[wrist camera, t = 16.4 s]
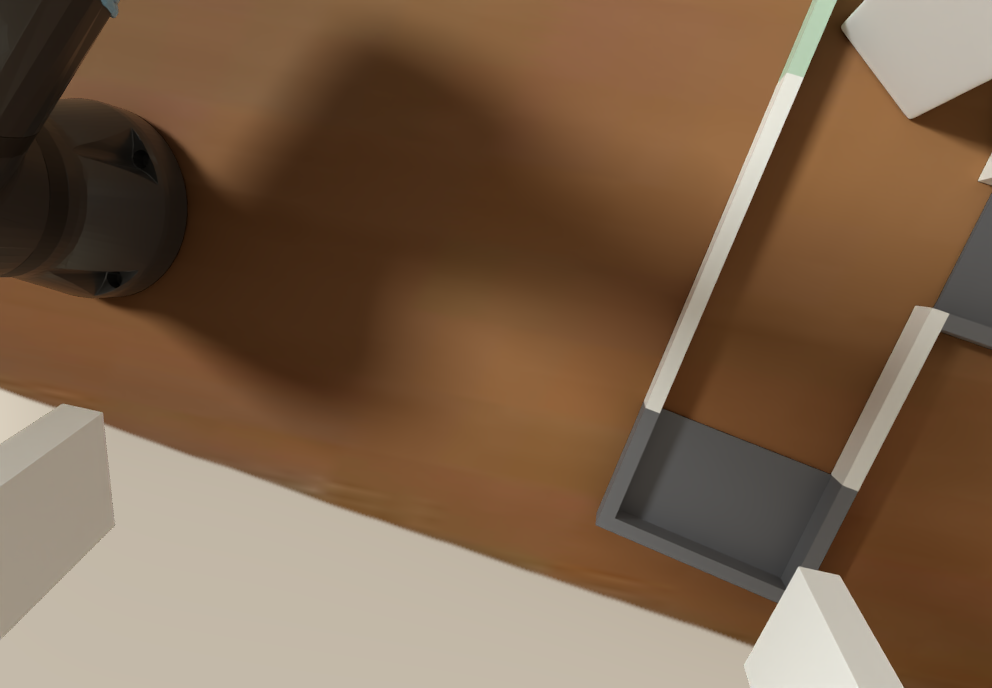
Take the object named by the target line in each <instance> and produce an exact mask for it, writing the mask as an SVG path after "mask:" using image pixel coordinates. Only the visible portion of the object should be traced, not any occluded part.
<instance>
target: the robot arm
mask: <svg viewBox="0 0 992 688" xmlns="http://www.w3.org/2000/svg"><path fill="white" fill-rule="evenodd" d="M119 1H120V0H0V277H13V278H16V279H20V280H23V281H26V282H30V283H33V284H36V285H40V286H43V287H46V288H50V289H53V290H56V291H60V292H63V293H66V294H70V295H73V296H78V297H86V298H107V297H122V296H127V295H131V294H134V293H137V292H140V291H142V290H144V289H146V288H147V287H149V286H150V285H152V284H153V283H155V282H156V281H157V280H158V279H159V278H160V277H161V276H162V275H163V274H164V273H165V272H166V271H167V269H168V268H169V267H170V265H171V264H172V262H173V261H174V259H175V257H176V255H177V253H178V251H179V248H180V246H181V243H182V240H183V236H184V232H185V227H186V219H187V198H186V190H185V185H184V181H183V177H182V174H181V171H180V168H179V165H178V163H177V161H176V158H175V156H174V154H173V153H172V151H171V149H170V148H169V146H168V144H167V143H166V142H165V140H164V139H163V138H162V136H161V135H160V134H159V133H158V132H157V131H156V130H155V129H154V128H153V127H152V126H151V125H150V124H149V123H147V122H146V121H145V120H143V119H142V118H140V117H139V116H137V115H135V114H133V113H132V112H129V111H127V110H124V109H121V108H118V107H115V106H112V105H109V104H106V103H103V102H99V101H95V100H89V99H82V98H70V99H60V97H61V95H62V94H63V92H64V91H65V89H66V87H67V86H68V84H69V82H70V81H71V79H72V78H73V76H74V74H75V73H76V71H77V69H78V68H79V66H80V64H81V63H82V61H83V60H84V58H85V56H86V55H87V53H88V51H89V50H90V48H91V47H92V45H93V43H94V42H95V40H96V38H97V37H98V35H99V33H100V32H101V30H102V29H103V27H104V25H105V24H106V22H107V20H108V19H109V17H112V18H116V16H117V15H118V6H117V5H118V3H119ZM114 526H115V522H114V513H113V503H112V494H111V485H110V475H109V466H108V456H107V448H106V438H105V429H104V419H103V412H98V411H94V410H89V409H85V408H80V407H76V406H71V405H67V404H61V405H60V406H58V407H57V408H55V409H54V410H52V411H51V412H49V413H47V414H46V415H44V416H43V417H41V418H40V419H38V420H37V421H35V422H33V423H32V424H30V425H29V426H28V427H26V428H24V429H23V430H21V431H20V432H18V433H17V434H15V435H13V436H12V437H10V438H9V439H7V440H6V441H4V442H3V443H1V444H0V640H1V639H2V638H3V637H4V636H5V635H6V634H7V632H9V631H10V630H11V629H12V628H13V627H14V626H15V625H16V624H17V623H18V622H19V621H20V620H21V619H22V618H23V617H24V616H25V615H26V614H27V613H28V612H29V611H30V610H31V609H32V608H33V607H34V606H35V605H36V604H37V603H38V602H39V601H40V600H41V599H42V598H43V597H44V596H45V595H46V594H47V593H48V592H49V591H50V590H51V589H52V588H53V587H54V586H55V585H56V584H57V583H58V582H59V581H60V580H61V579H62V578H63V577H64V576H65V575H66V574H67V573H68V572H69V571H70V570H71V569H72V568H73V567H74V566H75V565H76V564H77V563H78V562H79V561H80V560H81V559H82V558H83V557H84V556H85V555H86V554H87V553H88V552H89V551H90V550H91V549H92V548H93V547H94V546H95V545H96V544H97V543H98V542H99V541H100V540H101V539H102V538H103V537H104V536H105V535H106V534H107V533H108V532H109V531H110V530H111V529H112V528H113V527H114ZM744 669H745V672H746V675H747V679H748V682H749V685H750V688H904V687H903V685H902V684H901V682H900V680H899V678H898V677H897V675H896V673H895V671H894V670H893V668H892V666H891V664H890V663H889V661H888V659H887V657H886V656H885V654H884V652H883V650H882V649H881V647H880V645H879V643H878V642H877V640H876V638H875V636H874V635H873V633H872V631H871V629H870V628H869V626H868V624H867V622H866V621H865V619H864V617H863V615H862V614H861V612H860V610H859V608H858V607H857V605H856V603H855V601H854V600H853V598H852V596H851V594H850V593H849V591H848V589H847V587H846V586H845V584H844V582H843V580H842V579H841V577H840V575H836V574H831V573H827V572H822V571H818V570H813V569H809V568H804V567H800V566H798V568H797V570H796V572H795V574H794V575H793V577H792V579H791V581H790V583H789V584H788V586H787V588H786V590H785V592H784V593H783V595H782V597H781V599H780V601H779V602H778V604H777V606H776V608H775V610H774V611H773V613H772V615H771V617H770V619H769V620H768V622H767V624H766V626H765V628H764V629H763V631H762V633H761V635H760V637H759V638H758V640H757V642H756V644H755V646H754V647H753V649H752V651H751V653H750V655H749V656H748V658H747V660H746V662H745V664H744Z"/></svg>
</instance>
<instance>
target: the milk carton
mask: <svg viewBox="0 0 992 688" xmlns="http://www.w3.org/2000/svg"><path fill="white" fill-rule="evenodd" d="M841 29H842V31H843V32H844V34H845V35H846V36H847V38H848V39H849V40H850V42H851V43H852V44H853V46H854V47H855V48H856V50H857V51H858V53H859V54H860V55H861V57H862V58H863V59H864V61H865V62H866V63H867V65H868V66H869V67H870V69H871V70H872V71H873V73H874V74H875V75H876V77H877V78H878V79H879V81H880V82H881V83H882V85H883V86H884V87H885V89H886V90H887V91H888V93H889V94H890V95H891V97H892V98H893V99H894V101H895V102H896V103H897V105H898V106H899V107H900V109H901V110H902V111H903V113H904V114H905V115H906V116H907V117H908V118H909V119H913V118H915V117H917V116H919V115H921V114H923V113H925V112H927V111H929V110H931V109H933V108H935V107H937V106H939V105H941V104H943V103H945V102H947V101H949V100H951V99H953V98H955V97H957V96H959V95H961V94H963V93H965V92H967V91H969V90H971V89H973V88H975V87H977V86H979V85H981V84H983V83H985V82H987V81H989V80H991V79H992V0H864V1H863V2H862V4H861V5H860V6H859V7H858V8H857V9H856V10H855V11H854V12H853V13H852V14H851V15H850V16H849V17H848V19H847V20H846V21H845V22H844V23H843V24H842V25H841Z"/></svg>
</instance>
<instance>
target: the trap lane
mask: <svg viewBox="0 0 992 688" xmlns="http://www.w3.org/2000/svg"><path fill="white" fill-rule="evenodd" d="M836 1H837V0H813V1H812V3H811V5H810V8H809V10H808V12H807V15H806V17H805V20H804V22H803V24H802V27H801V29H800V31H799V34H798V36H797V39H796V41H795V43H794V46H793V48H792V50H791V53H790V55H789V58H788V60H787V62H786V65H785V67H784V69H783V72H782V74H781V77H780V79H779V81H778V84H777V86H776V88H775V91H774V93H773V96H772V98H771V100H770V103H769V105H768V107H767V110H766V112H765V115H764V117H763V119H762V122H761V124H760V126H759V129H758V131H757V134H756V136H755V138H754V141H753V143H752V145H751V148H750V150H749V153H748V155H747V157H746V160H745V162H744V164H743V167H742V169H741V172H740V174H739V176H738V179H737V181H736V183H735V186H734V188H733V191H732V193H731V195H730V198H729V200H728V202H727V205H726V207H725V210H724V212H723V214H722V217H721V219H720V221H719V224H718V226H717V229H716V231H715V233H714V236H713V238H712V240H711V243H710V245H709V248H708V250H707V252H706V255H705V257H704V259H703V262H702V264H701V267H700V269H699V271H698V274H697V276H696V278H695V281H694V283H693V286H692V288H691V290H690V293H689V295H688V297H687V300H686V302H685V305H684V307H683V309H682V312H681V314H680V316H679V319H678V321H677V324H676V326H675V328H674V331H673V333H672V335H671V338H670V340H669V343H668V345H667V347H666V350H665V352H664V354H663V357H662V359H661V362H660V364H659V366H658V369H657V371H656V373H655V376H654V378H653V381H652V383H651V385H650V388H649V390H648V392H647V395H646V397H645V400H644V402H643V404H642V407H641V409H640V411H639V414H638V416H637V419H636V421H635V423H634V426H633V428H632V430H631V433H630V435H629V438H628V440H627V442H626V445H625V447H624V449H623V452H622V454H621V457H620V459H619V461H618V464H617V466H616V468H615V471H614V473H613V476H612V478H611V480H610V483H609V485H608V487H607V490H606V492H605V495H604V497H603V499H602V502H601V504H600V506H599V509H598V511H597V515H596V525H597V526H599V527H601V528H604V529H606V530H608V531H611V532H613V533H615V534H618V535H620V536H622V537H625V538H627V539H629V540H632V541H634V542H636V543H639V544H641V545H643V546H646V547H648V548H650V549H653V550H655V551H657V552H660V553H662V554H664V555H667V556H669V557H671V558H674V559H676V560H678V561H681V562H683V563H685V564H688V565H690V566H692V567H695V568H697V569H699V570H702V571H704V572H706V573H709V574H711V575H713V576H716V577H718V578H720V579H723V580H725V581H727V582H730V583H732V584H734V585H737V586H739V587H741V588H744V589H746V590H748V591H751V592H753V593H755V594H758V595H760V596H762V597H765V598H767V599H769V600H772V601H774V602H776V603H778V602H779V601H780V599H781V597H782V595H783V593H784V592H785V590H786V588H787V586H788V584H789V583H790V581H791V579H792V577H793V575H794V574H795V572H796V570H797V568H798V566H800V567H804V568H809V569H813V570H818V569H819V567H820V565H821V563H822V561H823V559H824V557H825V555H826V553H827V551H828V549H829V547H830V545H831V543H832V541H833V539H834V538H835V536H836V534H837V532H838V530H839V528H840V526H841V524H842V522H843V520H844V518H845V516H846V514H847V512H848V510H849V508H850V506H851V504H852V502H853V501H854V499H855V497H856V495H857V493H858V491H859V489H860V487H861V485H862V483H863V481H864V479H865V477H866V475H867V473H868V471H869V469H870V467H871V466H872V464H873V462H874V460H875V458H876V456H877V454H878V452H879V450H880V448H881V446H882V444H883V442H884V440H885V438H886V436H887V434H888V432H889V430H890V429H891V427H892V425H893V423H894V421H895V419H896V417H897V415H898V413H899V411H900V409H901V407H902V405H903V403H904V401H905V399H906V397H907V395H908V393H909V392H910V390H911V388H912V386H913V384H914V382H915V380H916V378H917V376H918V374H919V372H920V370H921V368H922V366H923V364H924V362H925V360H926V358H927V357H928V355H929V353H930V351H931V349H932V347H933V345H934V343H935V341H936V339H937V337H938V335H939V333H940V332H943V333H945V334H948V335H951V336H954V337H957V338H960V339H963V340H965V341H968V342H971V343H974V344H977V345H980V346H983V347H986V348H988V349H991V350H992V193H991V195H990V197H989V199H988V201H987V203H986V205H985V207H984V209H983V211H982V213H981V215H980V217H979V219H978V221H977V223H976V225H975V227H974V229H973V231H972V233H971V235H970V237H969V239H968V241H967V243H966V245H965V247H964V249H963V251H962V253H961V255H960V257H959V258H958V260H957V262H956V264H955V266H954V268H953V270H952V272H951V274H950V276H949V278H948V280H947V282H946V284H945V286H944V288H943V290H942V292H941V294H940V296H939V298H938V300H937V302H936V304H935V306H934V308H931V307H923V306H915V307H914V309H913V311H912V313H911V315H910V317H909V319H908V321H907V323H906V325H905V327H904V329H903V331H902V333H901V335H900V337H899V339H898V341H897V343H896V345H895V347H894V349H893V351H892V353H891V355H890V357H889V359H888V361H887V363H886V365H885V367H884V369H883V371H882V373H881V375H880V377H879V379H878V381H877V383H876V385H875V387H874V389H873V391H872V393H871V395H870V397H869V399H868V401H867V403H866V405H865V407H864V409H863V411H862V413H861V415H860V417H859V419H858V421H857V423H856V425H855V427H854V429H853V431H852V433H851V435H850V437H849V439H848V441H847V443H846V445H845V447H844V449H843V451H842V453H841V455H840V457H839V459H838V461H837V463H836V465H835V467H834V469H833V471H832V473H831V474H829V473H826V472H824V471H821V470H818V469H816V468H813V467H811V466H808V465H806V464H803V463H801V462H798V461H795V460H793V459H790V458H788V457H785V456H783V455H780V454H778V453H775V452H773V451H770V450H767V449H765V448H762V447H760V446H757V445H755V444H752V443H750V442H747V441H744V440H742V439H739V438H737V437H734V436H732V435H729V434H727V433H724V432H722V431H719V430H716V429H714V428H711V427H709V426H706V425H704V424H701V423H699V422H696V421H693V420H691V419H688V418H686V417H683V416H681V415H678V414H676V413H673V412H671V411H668V410H665V409H663V408H662V407H663V405H664V402H665V400H666V398H667V395H668V393H669V391H670V388H671V386H672V384H673V381H674V379H675V377H676V374H677V372H678V370H679V367H680V365H681V363H682V360H683V358H684V356H685V353H686V351H687V349H688V346H689V344H690V342H691V339H692V337H693V335H694V332H695V330H696V328H697V325H698V323H699V321H700V318H701V316H702V314H703V311H704V309H705V307H706V304H707V302H708V300H709V297H710V295H711V293H712V290H713V288H714V286H715V283H716V281H717V279H718V276H719V274H720V272H721V269H722V267H723V265H724V262H725V260H726V258H727V255H728V253H729V251H730V248H731V246H732V244H733V241H734V239H735V237H736V234H737V232H738V230H739V227H740V225H741V223H742V220H743V218H744V216H745V213H746V211H747V209H748V206H749V204H750V202H751V199H752V197H753V195H754V192H755V190H756V188H757V185H758V183H759V181H760V178H761V176H762V174H763V171H764V169H765V167H766V164H767V162H768V160H769V157H770V155H771V153H772V150H773V148H774V146H775V143H776V141H777V139H778V136H779V134H780V132H781V129H782V127H783V125H784V122H785V120H786V118H787V115H788V113H789V111H790V108H791V106H792V104H793V101H794V99H795V97H796V94H797V92H798V90H799V87H800V85H801V83H802V80H803V78H804V76H805V73H806V71H807V69H808V66H809V64H810V62H811V59H812V57H813V55H814V52H815V50H816V48H817V45H818V43H819V41H820V38H821V36H822V34H823V31H824V29H825V27H826V24H827V22H828V20H829V17H830V15H831V13H832V10H833V8H834V6H835V3H836ZM978 181H979V182H983V183H986V184H989V185H992V154H991V156H990V157H989V159H988V161H987V163H986V165H985V167H984V169H983V171H982V173H981V175H980V177H979V179H978Z"/></svg>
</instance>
